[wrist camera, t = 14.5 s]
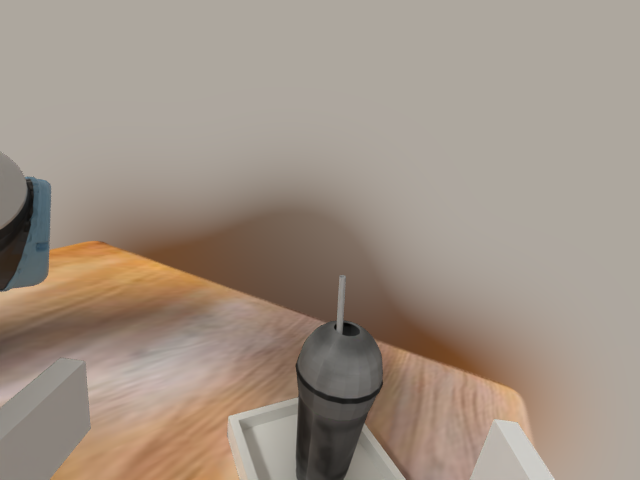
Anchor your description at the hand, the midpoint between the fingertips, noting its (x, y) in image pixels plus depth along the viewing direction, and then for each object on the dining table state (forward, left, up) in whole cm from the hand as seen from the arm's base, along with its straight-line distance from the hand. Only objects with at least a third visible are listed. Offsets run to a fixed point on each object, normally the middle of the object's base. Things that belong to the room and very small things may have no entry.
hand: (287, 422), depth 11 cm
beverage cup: (-11, +10, -21) cm, 26 cm away
